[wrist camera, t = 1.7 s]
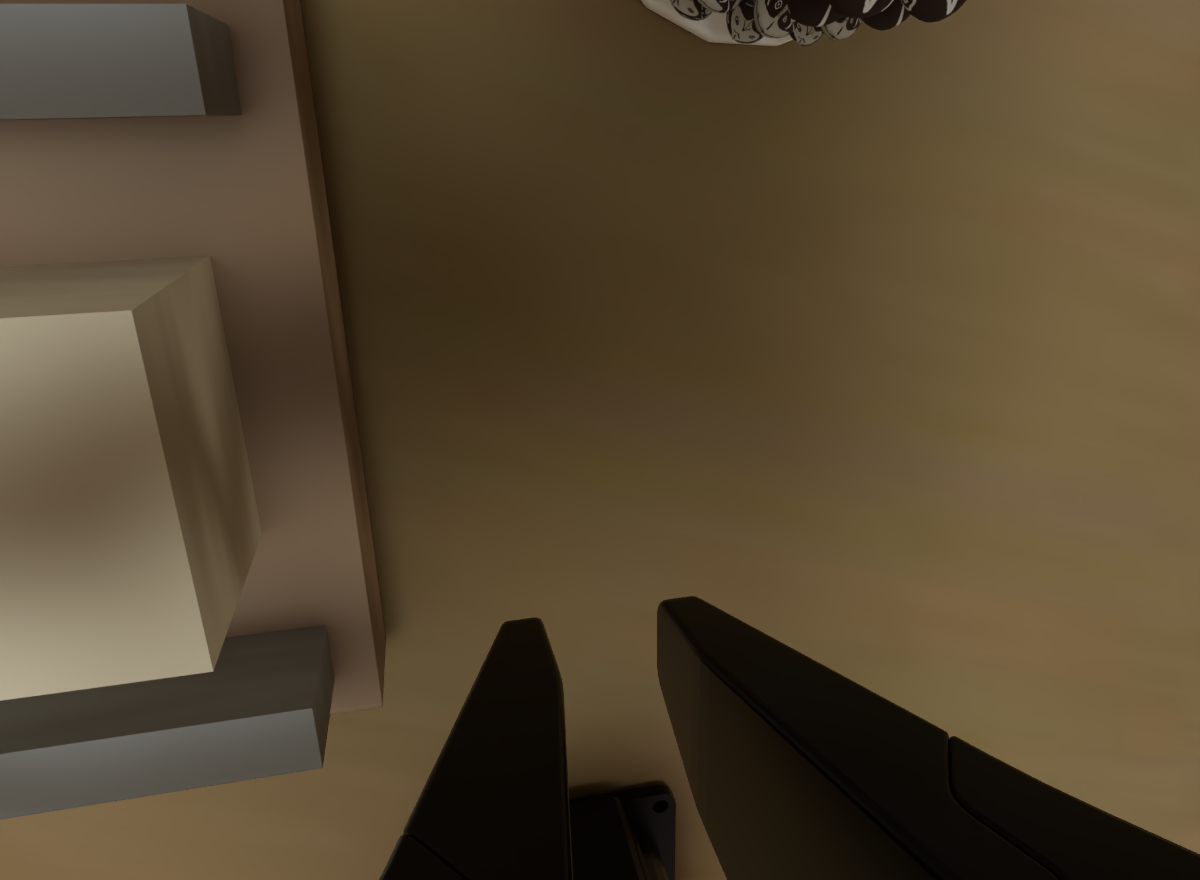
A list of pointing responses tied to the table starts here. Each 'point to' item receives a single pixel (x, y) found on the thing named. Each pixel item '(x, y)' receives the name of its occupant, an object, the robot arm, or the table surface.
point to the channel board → (257, 357)
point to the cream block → (117, 475)
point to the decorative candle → (793, 17)
